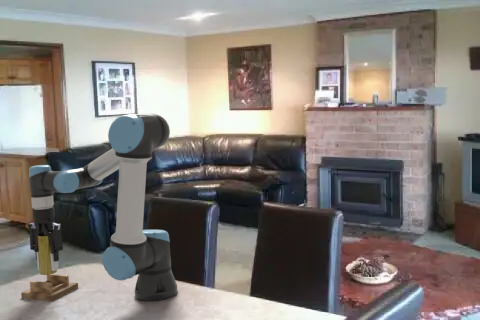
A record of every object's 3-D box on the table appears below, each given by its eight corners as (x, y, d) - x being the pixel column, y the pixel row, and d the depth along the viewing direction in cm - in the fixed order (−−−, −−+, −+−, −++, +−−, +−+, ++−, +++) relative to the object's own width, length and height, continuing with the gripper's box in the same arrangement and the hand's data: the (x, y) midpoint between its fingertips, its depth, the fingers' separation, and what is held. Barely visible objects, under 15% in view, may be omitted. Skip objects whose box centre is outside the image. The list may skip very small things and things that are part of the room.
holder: (78, 288, 192) (77, 273, 191) (52, 301, 179) (50, 286, 178) (49, 285, 197) (48, 271, 196) (21, 297, 184) (20, 283, 183)
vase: (51, 275, 183) (48, 236, 182) (36, 275, 185) (32, 236, 183) (60, 270, 189) (57, 232, 188) (45, 269, 191) (42, 232, 189)
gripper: (70, 206, 185) (75, 267, 187) (30, 204, 192) (36, 264, 194) (56, 210, 178) (61, 274, 180) (15, 208, 185) (21, 270, 187)
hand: (48, 269), depth 187 cm, fingers closed on vase, 6 cm apart
